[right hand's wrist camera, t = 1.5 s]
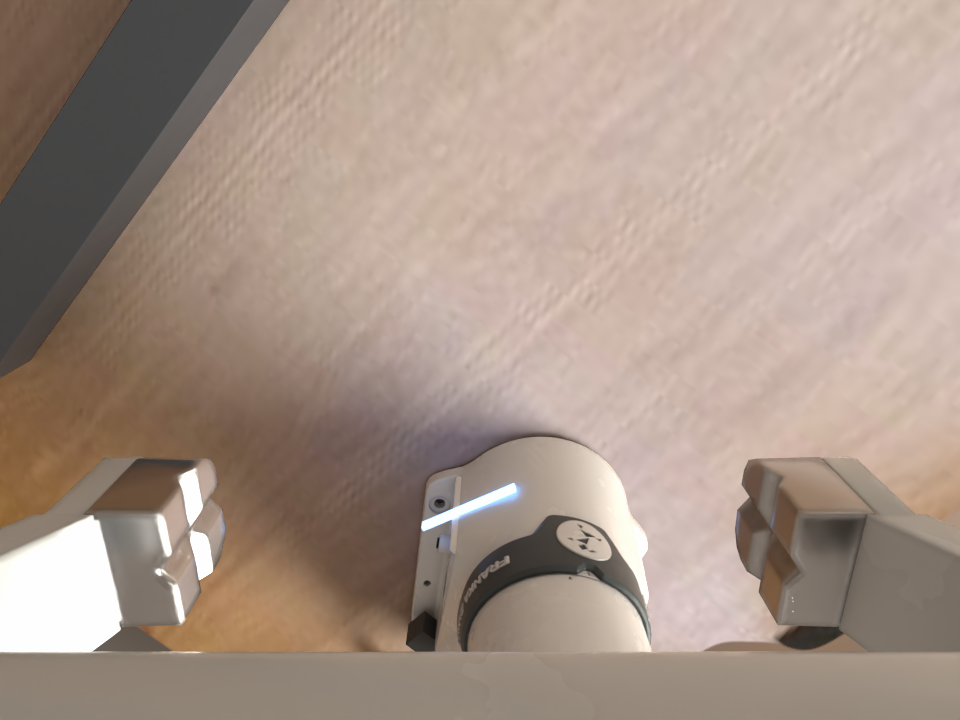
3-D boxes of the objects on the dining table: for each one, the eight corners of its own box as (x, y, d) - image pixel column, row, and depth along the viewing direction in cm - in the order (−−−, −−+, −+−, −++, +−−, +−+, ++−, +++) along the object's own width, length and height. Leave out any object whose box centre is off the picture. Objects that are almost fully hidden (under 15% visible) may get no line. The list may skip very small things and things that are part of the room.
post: (30, 360, 50) (-20, 389, 45) (-32, 317, 49) (-89, 342, 44) (525, -328, 35) (533, -397, 31) (455, -414, 34) (451, -499, 29)
